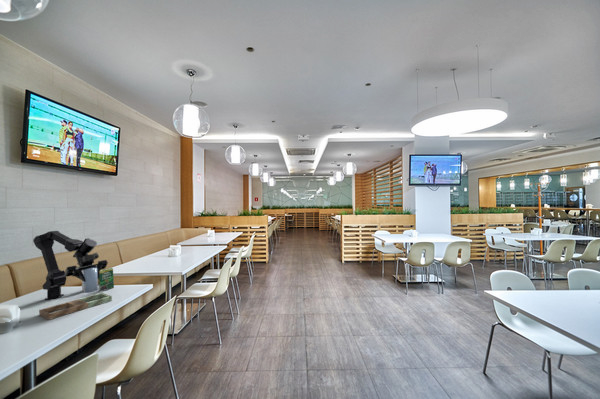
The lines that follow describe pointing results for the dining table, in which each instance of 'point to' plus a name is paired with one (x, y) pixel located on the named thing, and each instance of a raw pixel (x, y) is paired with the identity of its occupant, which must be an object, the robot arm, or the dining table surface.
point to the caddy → (74, 306)
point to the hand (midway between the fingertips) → (91, 279)
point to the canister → (90, 280)
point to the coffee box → (106, 279)
